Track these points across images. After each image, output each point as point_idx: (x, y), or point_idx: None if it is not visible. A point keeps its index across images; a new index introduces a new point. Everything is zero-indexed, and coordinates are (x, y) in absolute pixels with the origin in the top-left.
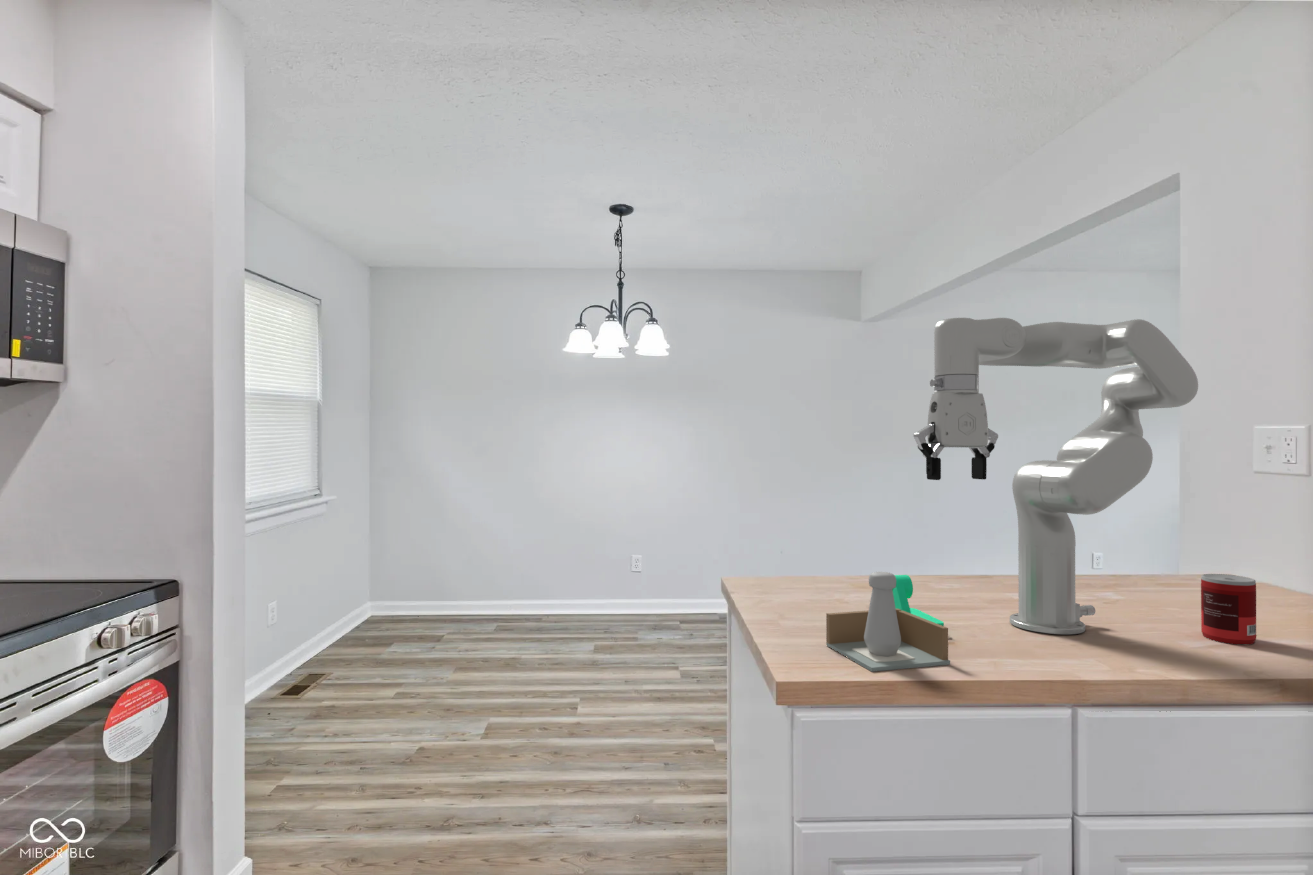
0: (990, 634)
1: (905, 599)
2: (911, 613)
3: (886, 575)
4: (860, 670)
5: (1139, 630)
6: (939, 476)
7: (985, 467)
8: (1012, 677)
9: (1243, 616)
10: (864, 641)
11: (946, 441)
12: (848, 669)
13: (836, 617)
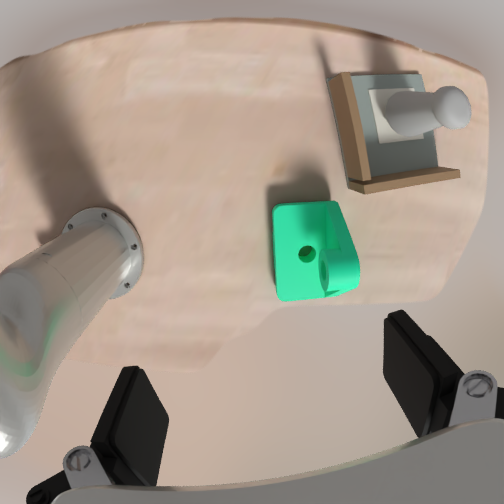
0: (197, 213)
1: (339, 231)
2: (299, 267)
3: (457, 91)
4: (427, 82)
5: (14, 234)
6: (400, 315)
7: (111, 402)
8: (272, 30)
9: None
10: (398, 171)
11: (502, 435)
12: (437, 88)
13: (449, 170)
